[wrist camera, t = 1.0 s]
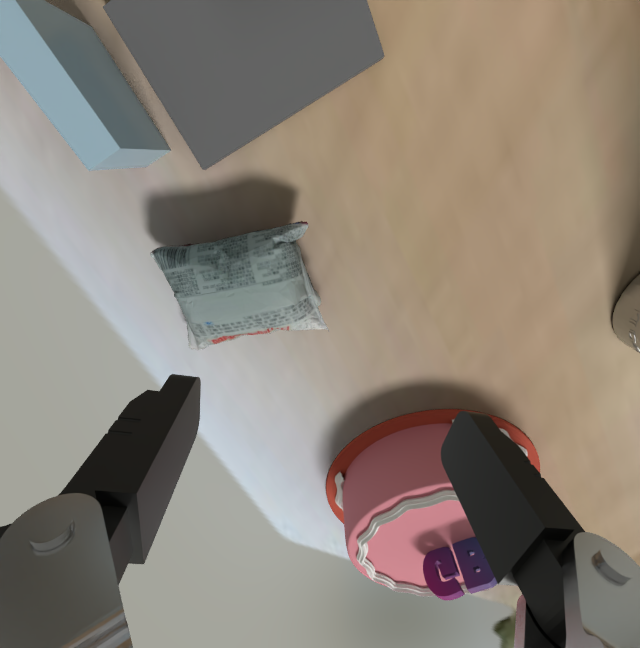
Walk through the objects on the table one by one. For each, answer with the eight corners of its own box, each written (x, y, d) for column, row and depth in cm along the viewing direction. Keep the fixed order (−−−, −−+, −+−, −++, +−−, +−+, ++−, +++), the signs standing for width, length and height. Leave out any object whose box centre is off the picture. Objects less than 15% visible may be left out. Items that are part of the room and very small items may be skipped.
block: (92, 27, 18) (-4, -27, 13) (171, 150, 21) (120, 148, 16) (65, 49, 19) (-38, 7, 13) (146, 167, 21) (88, 170, 16)
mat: (312, -159, 15) (312, -170, 14) (382, 58, 19) (384, 55, 18) (109, 11, 18) (102, 7, 17) (205, 169, 21) (202, 169, 21)
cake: (389, 559, 46) (407, 662, 37) (283, 468, 37) (270, 575, 27) (564, 500, 39) (640, 608, 30) (489, 367, 30) (567, 465, 20)
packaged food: (328, 317, 27) (329, 347, 23) (198, 337, 28) (175, 370, 24) (308, 212, 23) (304, 224, 19) (158, 241, 24) (121, 259, 20)
